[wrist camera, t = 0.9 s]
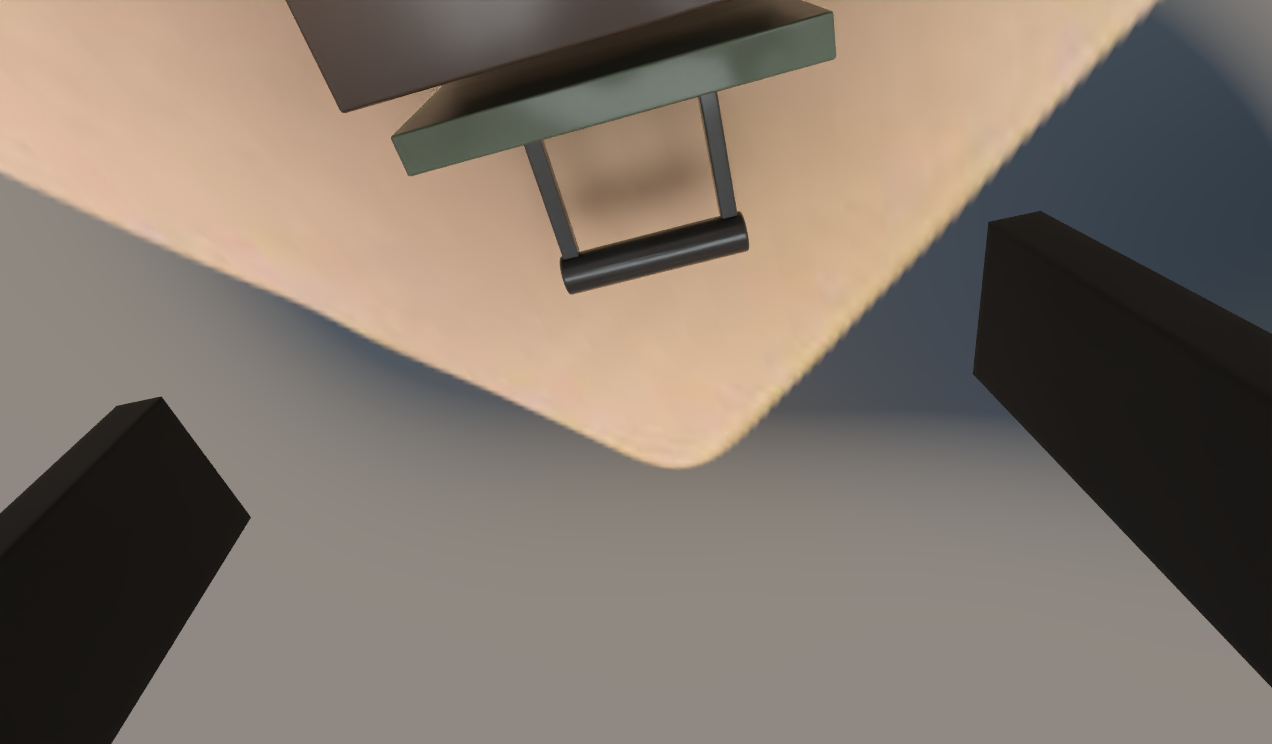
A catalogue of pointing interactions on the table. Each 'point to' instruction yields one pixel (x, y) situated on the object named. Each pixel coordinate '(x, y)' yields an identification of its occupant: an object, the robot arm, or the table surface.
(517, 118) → the drawer
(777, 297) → the table surface
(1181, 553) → the robot arm
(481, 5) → the cabinet
